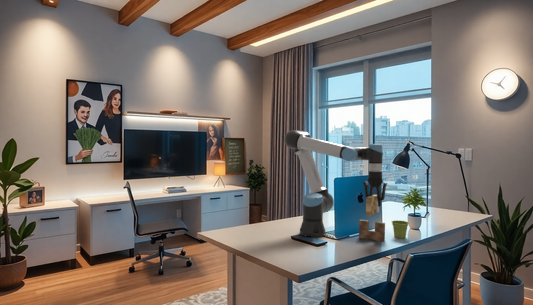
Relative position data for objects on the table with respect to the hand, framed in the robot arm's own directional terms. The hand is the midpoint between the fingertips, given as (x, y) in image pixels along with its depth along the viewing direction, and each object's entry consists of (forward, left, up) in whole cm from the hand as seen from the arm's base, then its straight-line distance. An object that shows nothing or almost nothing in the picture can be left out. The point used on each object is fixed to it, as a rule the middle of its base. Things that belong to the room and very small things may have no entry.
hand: (374, 211), depth 204 cm
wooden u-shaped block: (0, -4, -15) cm, 15 cm away
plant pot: (+12, +10, -15) cm, 21 cm away
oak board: (0, -5, -1) cm, 5 cm away
